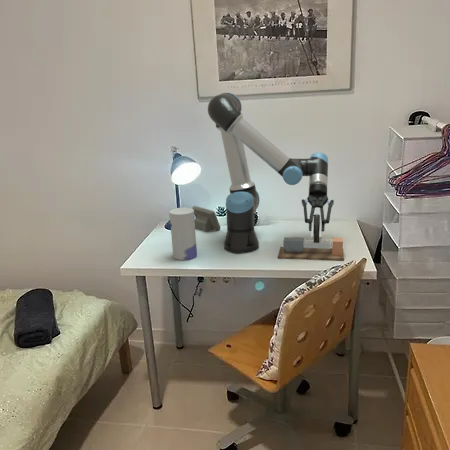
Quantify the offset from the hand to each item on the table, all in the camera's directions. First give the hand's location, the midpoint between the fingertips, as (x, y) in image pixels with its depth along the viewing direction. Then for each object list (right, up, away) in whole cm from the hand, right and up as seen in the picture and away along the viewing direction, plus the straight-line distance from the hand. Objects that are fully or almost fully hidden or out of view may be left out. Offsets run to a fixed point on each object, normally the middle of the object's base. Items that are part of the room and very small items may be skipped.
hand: (316, 238), depth 200 cm
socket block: (+9, -6, +4) cm, 12 cm away
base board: (-2, -7, +7) cm, 10 cm away
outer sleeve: (-8, -6, +8) cm, 13 cm away
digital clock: (-45, +3, +45) cm, 64 cm away
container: (-53, -8, +12) cm, 55 cm away
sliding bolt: (-2, -4, +6) cm, 7 cm away
